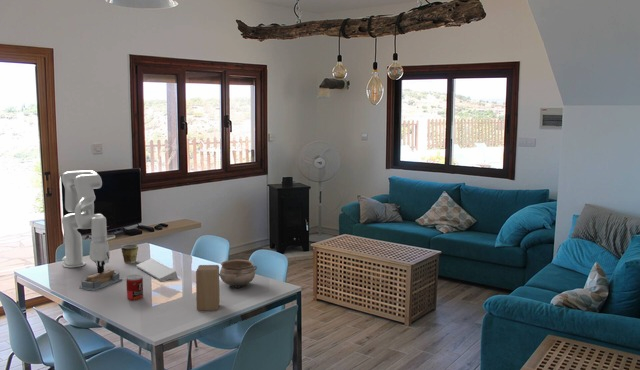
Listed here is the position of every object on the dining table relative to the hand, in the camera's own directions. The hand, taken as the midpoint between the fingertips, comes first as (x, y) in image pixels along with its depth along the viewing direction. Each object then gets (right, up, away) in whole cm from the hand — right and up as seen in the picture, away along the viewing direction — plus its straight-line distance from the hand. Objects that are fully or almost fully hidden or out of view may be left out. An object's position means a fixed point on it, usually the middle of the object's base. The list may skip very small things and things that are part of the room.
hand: (100, 272), depth 302 cm
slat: (0, -5, +1) cm, 6 cm away
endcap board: (0, -6, +1) cm, 6 cm away
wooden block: (+65, -12, -33) cm, 74 cm away
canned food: (+26, -10, -21) cm, 34 cm away
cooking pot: (+74, -7, +1) cm, 74 cm away
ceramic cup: (0, -1, +46) cm, 46 cm away
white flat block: (+23, -5, +23) cm, 33 cm away
